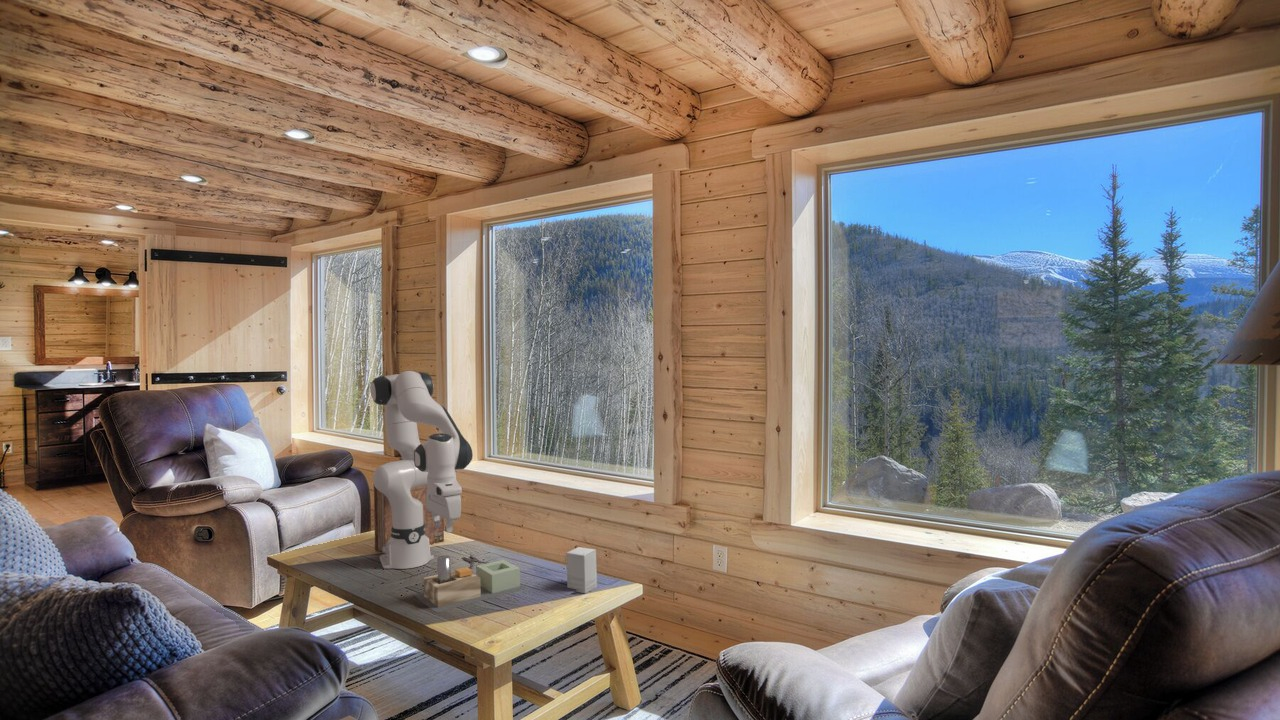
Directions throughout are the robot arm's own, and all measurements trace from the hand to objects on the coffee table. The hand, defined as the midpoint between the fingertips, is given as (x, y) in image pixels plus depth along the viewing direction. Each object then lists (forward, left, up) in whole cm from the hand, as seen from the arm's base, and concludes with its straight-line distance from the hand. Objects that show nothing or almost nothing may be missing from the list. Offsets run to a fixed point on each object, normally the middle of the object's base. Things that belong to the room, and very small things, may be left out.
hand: (443, 529), depth 215 cm
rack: (0, +18, -22) cm, 29 cm away
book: (-68, +12, -23) cm, 73 cm away
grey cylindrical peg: (0, 0, -21) cm, 21 cm away
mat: (0, +9, -23) cm, 25 cm away
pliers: (-28, +22, -24) cm, 43 cm away
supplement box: (+19, +39, -23) cm, 50 cm away
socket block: (0, +2, -22) cm, 22 cm away
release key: (0, +6, -20) cm, 21 cm away
